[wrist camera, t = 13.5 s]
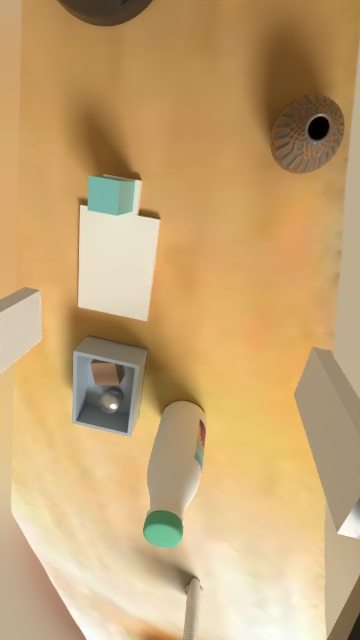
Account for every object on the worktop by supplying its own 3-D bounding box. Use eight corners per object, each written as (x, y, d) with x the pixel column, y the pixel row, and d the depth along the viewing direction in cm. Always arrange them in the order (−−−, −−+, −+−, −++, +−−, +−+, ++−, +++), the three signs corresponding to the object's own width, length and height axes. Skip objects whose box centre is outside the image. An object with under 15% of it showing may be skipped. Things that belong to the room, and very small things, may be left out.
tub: (87, 335, 49) (73, 350, 45) (147, 348, 49) (139, 365, 44) (85, 403, 55) (72, 422, 51) (138, 415, 54) (130, 436, 50)
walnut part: (97, 353, 50) (90, 363, 47) (121, 353, 49) (114, 363, 46) (102, 374, 51) (95, 385, 48) (125, 374, 51) (119, 385, 48)
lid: (83, 170, 39) (56, 167, 33) (165, 184, 39) (152, 185, 32) (80, 304, 47) (58, 323, 41) (148, 319, 47) (135, 339, 41)
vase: (320, 177, 36) (346, 175, 28) (261, 171, 37) (270, 167, 29) (339, 107, 33) (374, 83, 25) (274, 101, 34) (288, 76, 26)
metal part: (126, 392, 52) (120, 402, 49) (119, 406, 53) (113, 416, 50) (110, 383, 52) (103, 392, 49) (103, 397, 53) (96, 407, 50)
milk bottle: (155, 420, 54) (118, 538, 36) (176, 391, 51) (147, 504, 33) (192, 441, 55) (174, 566, 37) (215, 413, 52) (208, 536, 34)
